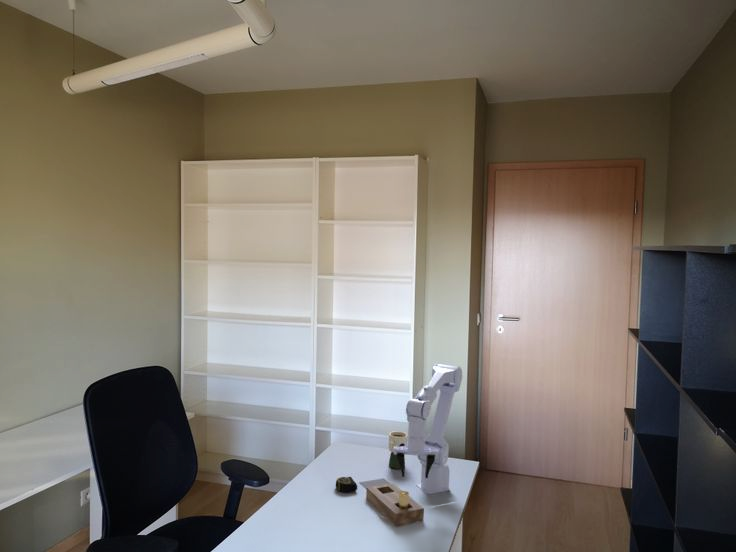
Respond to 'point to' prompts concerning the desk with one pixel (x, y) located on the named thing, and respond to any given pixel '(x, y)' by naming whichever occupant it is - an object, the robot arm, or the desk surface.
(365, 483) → the rubber mat
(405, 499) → the brass pin
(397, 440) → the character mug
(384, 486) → the block
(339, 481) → the tape measure
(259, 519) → the desk surface
